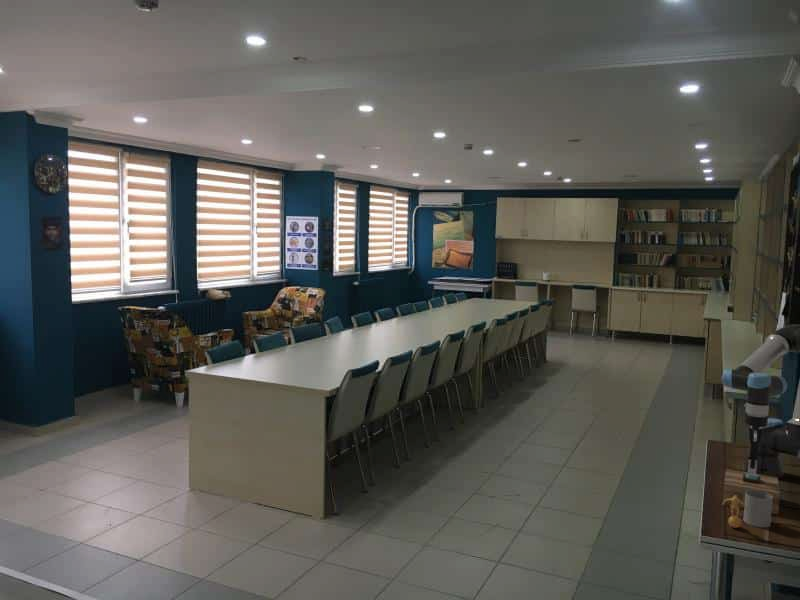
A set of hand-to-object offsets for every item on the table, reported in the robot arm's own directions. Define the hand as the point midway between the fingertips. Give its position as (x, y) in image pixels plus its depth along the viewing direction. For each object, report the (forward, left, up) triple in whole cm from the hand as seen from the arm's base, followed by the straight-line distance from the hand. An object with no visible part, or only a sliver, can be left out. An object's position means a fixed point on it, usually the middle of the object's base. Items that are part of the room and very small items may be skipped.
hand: (751, 475), depth 253 cm
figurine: (+25, +18, -10) cm, 32 cm away
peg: (0, 0, -8) cm, 8 cm away
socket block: (0, 0, -10) cm, 10 cm away
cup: (+13, +16, -10) cm, 23 cm away
